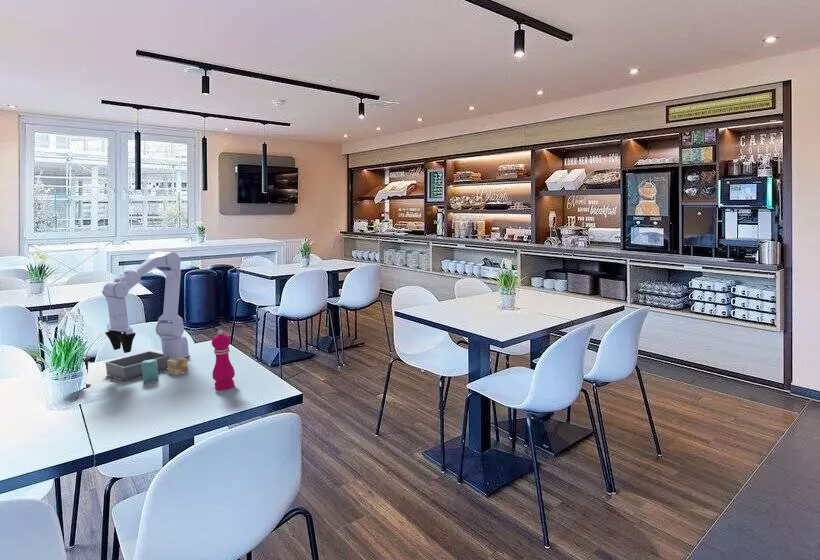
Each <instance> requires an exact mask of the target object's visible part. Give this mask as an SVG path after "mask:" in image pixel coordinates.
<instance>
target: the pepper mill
mask: <svg viewBox="0 0 820 560" xmlns="http://www.w3.org/2000/svg"><path fill="white" fill-rule="evenodd" d="M230 345H231V338H230V337H229V335H228V334H225V333H224V331H223V330H222V329H219V330H217V334H216V335H214V336H213V338H212V339H211V346H212V347H213V348H214V349H213V353H214V355H215V363H214V367H213V370H212V374H211V375H212V379H213V381H214V389H216V390H219V391H221V390H229V389H232V388H234V387H235V380H234V377H235V376H236V375H235V369H234V366H233V364H232V363H231V360H230V357H229V356H230V355H229V353H230V352H231V351H230V347H229V346H230Z"/></svg>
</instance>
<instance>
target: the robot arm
mask: <svg viewBox="0 0 820 560" xmlns="http://www.w3.org/2000/svg"><path fill="white" fill-rule="evenodd" d="M181 261H182V260H181V257H180V256H179V254H178V253H177V252H176V251H170V252H169V251H153V252H152V253H151V254H149V255H148V257H147V259H145V260H144V261H143V262H142V263H140V265H138V266H137V267H135V269H128V270H127V269H126V270H124V271H123V274H122V275H120V276H119V277H115V278H114V280H113V281H109V282H107V283H106V284H105V285H104V286H103V288H102V289H103V290H102V291H101V293H102V295H103V296H104V297H105V301H106V302H107V308H108V317H109V324H106V326H107V329H106V330H107V331H105V332H104V333H105V335H106V336H107V338H108V339H109V341H110V344H111V347H112V348H113V350H115V351H116V350H121V347H122V350H123V353H125V354H126V353H130V352H132V346H133V341H134V339H135V337H136V332H135V331H134V332H133V327H131V326H130V325H129V320H128V309H127V300H126V297H127V296H128V295H129V292H130V290H131V289H132V288H134V287H135V286H136V285H137V284H139V283H140V282H141V278H142V277H143V276H145V275H146V274H148V273H149V272H151V271H152V270H153V269H157V270H158V271H161V272H162V273H163V274H164V275H165V284H164V286H165V287H164V295H163V296H164V297H163V299H164V300H163V312H162V314H161V315H160V316H159V317H158V319H157V323H156V325H155V333H156V335H157V336H159V339H160V343H161V352H162V353H161V354H165V355H169V360H170V359H173V358H177V357H182V358H185V357H186V358H188V357H189V358H190V357H191V354H189V353H190V351H189V342H188V338H187V336H185V335H184V333H185V332H184V331H185V326H184V320H183V318H182V317H181V316H180V315H179V314H178V313H179V303H180V302H179V301H180V288H181V275H182V270H181Z"/></svg>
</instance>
